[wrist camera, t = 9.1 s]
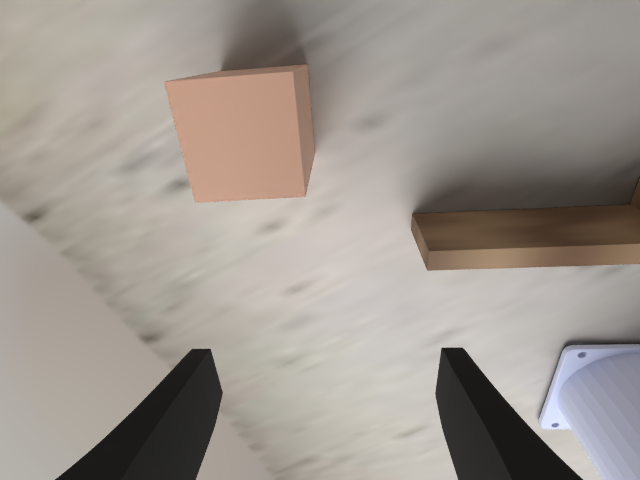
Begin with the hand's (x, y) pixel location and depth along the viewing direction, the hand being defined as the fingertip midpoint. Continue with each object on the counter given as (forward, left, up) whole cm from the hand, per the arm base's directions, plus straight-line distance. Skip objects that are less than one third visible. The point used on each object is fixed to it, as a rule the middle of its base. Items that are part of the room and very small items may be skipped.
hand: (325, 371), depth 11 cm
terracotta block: (+3, -6, -10) cm, 12 cm away
